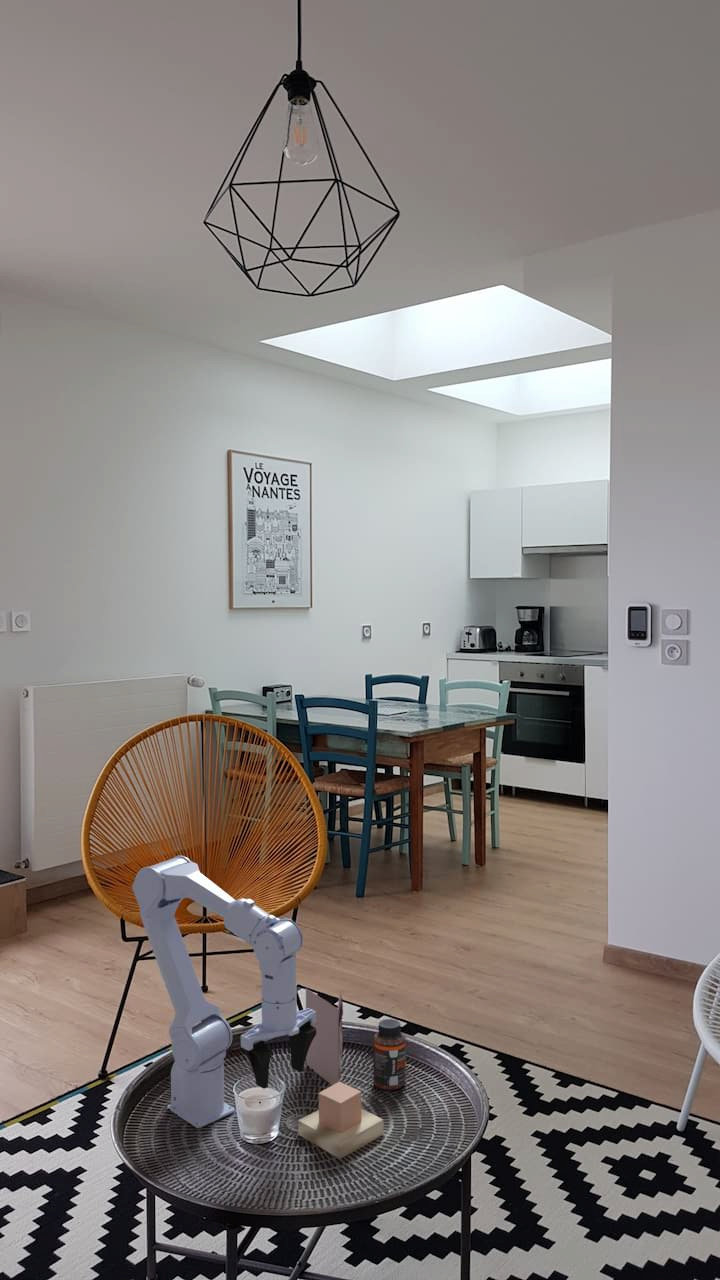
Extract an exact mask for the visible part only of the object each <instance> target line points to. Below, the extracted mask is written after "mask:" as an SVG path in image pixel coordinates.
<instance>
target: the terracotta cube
mask: <svg viewBox="0 0 720 1280" xmlns="http://www.w3.org/2000/svg"><path fill="white" fill-rule="evenodd" d="M361 1108H362V1091H361V1090H359V1089H357V1088H354V1087H353V1086H350V1085H348V1084H345V1083H343V1082H340V1081H339V1082H338V1083H336V1084H334V1085H330V1086H329V1087H327V1088H325V1089H323V1090H321V1091H320V1092H318V1110H319V1123H321V1124H323V1125H325V1126H327V1127H329V1128H331V1129H333V1130H336V1131H338V1132H340V1133H342V1132H344V1131H345V1130H347V1129H349V1128H350V1127H352V1126H354V1125H355V1124H357V1123H359V1122H360V1121H362V1119H361Z"/></svg>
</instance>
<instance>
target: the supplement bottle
mask: <svg viewBox="0 0 720 1280" xmlns="http://www.w3.org/2000/svg"><path fill="white" fill-rule="evenodd" d="M372 1039H373V1040H372V1043H373V1046H372V1047H373V1048H372V1049H373V1052H372V1053H373V1055H372V1057H373V1058H372V1059H373V1061H372V1064H373V1065H372V1067H373V1068H372V1069H373V1073H372V1074H373V1075H372V1076H373V1077H372V1078H373V1083H374V1085H375V1086H376V1087H377V1088H378V1089H381V1090H386V1091H395V1090H399V1089H401V1088H402V1086H403V1085H404V1086H405V1085H406V1079H407V1078H406V1077H407V1075H406V1073H407V1072H406V1069H407V1067H406V1061H407V1060H406V1059H407V1058H406V1054H407V1051H406V1050H407V1049H406V1048H407V1045H406V1041H407V1040H406V1036H405V1034H404V1032H403V1033H402V1032H401V1022H400V1021H399V1020H397V1019H392V1018H387V1019H382V1020H380V1021H379V1022H378V1031H377V1032H376V1033H375V1034H374V1036H373V1038H372ZM404 1086H403V1087H404Z"/></svg>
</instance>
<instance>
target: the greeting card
mask: <svg viewBox="0 0 720 1280" xmlns="http://www.w3.org/2000/svg"><path fill="white" fill-rule="evenodd" d="M337 1004H338V1005H337V1007H336V1006H334V1005H332V1004H331V1003H330V1002H328V1001H327V1000H326V999H323V998H322V997H320V996H319V995H317V994H316V993H315V992H313V991H311V989H310V990H309V989H308V988H307V987H305V1009H307V1008H309V1009H311V1010H314V1011H316V1023H314V1024H311V1026H313V1027H315V1028H316V1036H315V1037H314V1039H313V1041H312V1043H311V1045H310V1047H309V1050H308V1053H307V1056H306V1060H305V1062H306V1066H307V1065H308V1066H309V1067H308V1066H307V1067H308V1068H309V1069H311V1070H312V1069H313V1070H314V1071H313V1072H314V1073H316V1074H317V1075H318V1076H320V1077H321V1078H323V1079H324V1081H326V1082H328V1083H329V1084H330V1086H332V1085H334V1084H336V1083H338V1082H340V1080H341V1069H342V1068H341V1067H342V1054H343V1048H344V1047H343V1046H344V1032H343V1021H342V1020H343V1019H342V1018H343V1015H344V1009H343V1008H344V1005H343V997H342V984H340V985H339V995H338V1003H337Z"/></svg>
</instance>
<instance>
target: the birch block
mask: <svg viewBox="0 0 720 1280" xmlns="http://www.w3.org/2000/svg"><path fill="white" fill-rule="evenodd" d="M361 1119H362V1121H360V1122H359V1123H357V1124H355V1125H354V1126H352V1127H350V1128H349V1129H347V1130H345V1131H344V1132H342V1133H340V1132H338V1131H336V1130H333V1129H331V1128H329V1127H327V1126H325V1125H323V1124H321V1123H319V1109H318V1110H316V1111H314V1112H312V1113H310V1114H308V1115H306V1116H304V1117H302V1118H299V1119H298V1120H297V1121H298V1129H297V1130H298V1131H297V1132H298V1133H297V1134H298V1136H300V1137H302V1138H303V1139H305V1140H306V1141H308V1142H310V1143H312V1144H313V1145H316V1146H317V1147H318V1148H321V1149H323V1150H324V1151H325V1152H327V1153H329V1154H331V1155H332V1156H333V1157H336V1158H338V1159H339V1160H340V1159H343V1158H344V1157H346V1156H347V1155H350V1154H351V1153H353V1152H355V1151H356V1150H359V1149H360V1148H362V1147H364V1146H366V1145H368V1144H369V1143H370V1142H371V1143H372V1142H373V1141H374V1140H376V1139H378V1138H380V1137H382V1136H383V1135H384V1134H385V1133H384V1118H381V1117H379V1116H377V1115H376V1114H373V1113H371V1112H369V1111H367V1110H365V1109H364V1108H362V1107H361Z"/></svg>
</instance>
